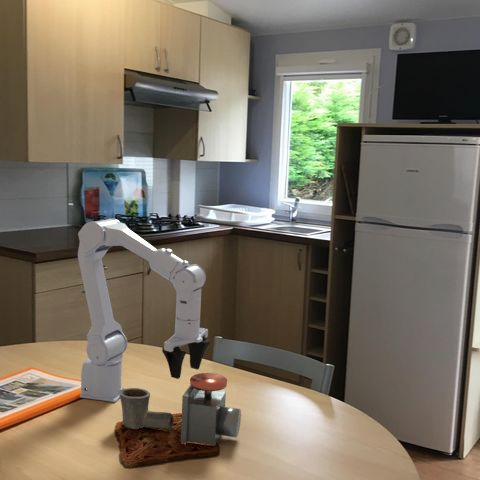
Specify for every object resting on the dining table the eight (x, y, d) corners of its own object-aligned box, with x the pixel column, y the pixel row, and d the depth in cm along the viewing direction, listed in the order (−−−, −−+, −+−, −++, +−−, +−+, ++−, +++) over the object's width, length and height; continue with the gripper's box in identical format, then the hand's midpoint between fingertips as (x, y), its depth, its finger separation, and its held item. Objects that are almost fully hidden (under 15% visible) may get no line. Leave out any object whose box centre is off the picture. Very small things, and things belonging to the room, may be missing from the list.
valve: (178, 444, 132) (180, 386, 130) (192, 422, 143) (195, 368, 141) (231, 452, 130) (235, 393, 128) (242, 429, 141) (245, 374, 139)
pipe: (167, 437, 135) (168, 402, 134) (112, 429, 138) (113, 395, 137) (175, 425, 141) (177, 392, 140) (123, 417, 144) (123, 385, 143)
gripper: (182, 327, 137) (180, 386, 139) (219, 314, 149) (216, 368, 151) (157, 321, 140) (155, 378, 142) (195, 308, 152) (193, 361, 155)
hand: (185, 372), depth 147 cm, fingers open, 7 cm apart
